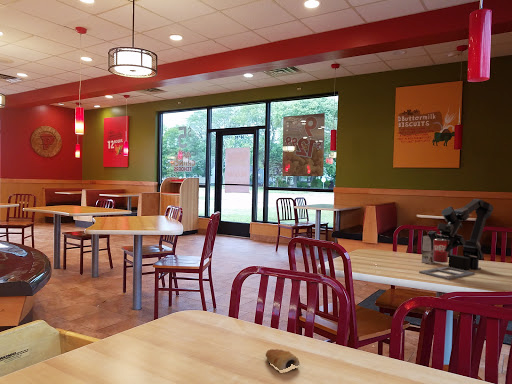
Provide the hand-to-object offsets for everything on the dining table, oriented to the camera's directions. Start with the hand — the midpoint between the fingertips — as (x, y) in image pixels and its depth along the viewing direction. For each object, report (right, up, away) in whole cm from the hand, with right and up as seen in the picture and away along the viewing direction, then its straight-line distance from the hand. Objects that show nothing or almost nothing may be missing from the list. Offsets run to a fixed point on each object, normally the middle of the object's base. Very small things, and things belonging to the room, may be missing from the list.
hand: (438, 250), depth 202 cm
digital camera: (+20, -13, +18) cm, 30 cm away
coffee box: (+9, -12, +31) cm, 35 cm away
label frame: (+6, -13, +3) cm, 14 cm away
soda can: (+1, -7, +1) cm, 7 cm away
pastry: (-90, -13, -106) cm, 139 cm away
